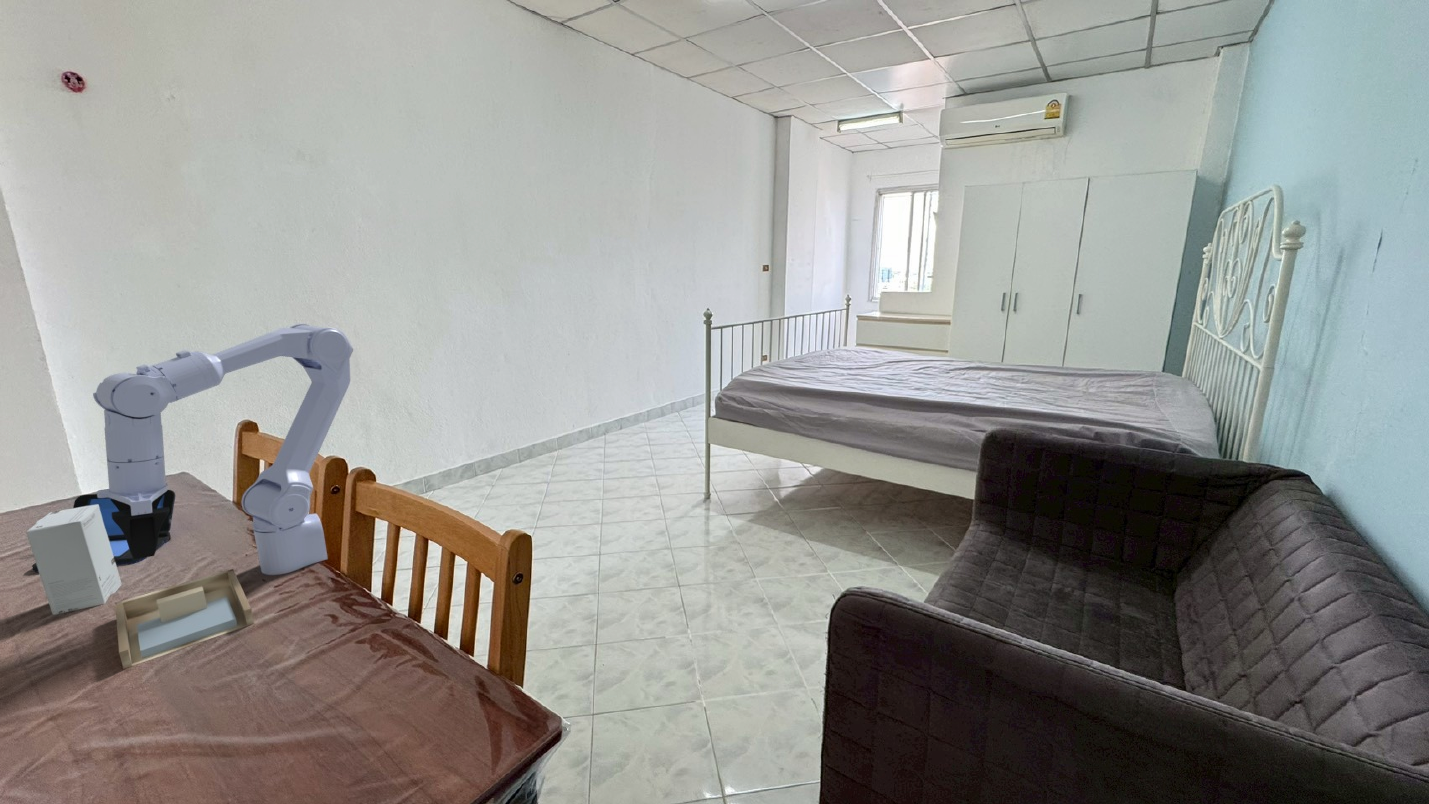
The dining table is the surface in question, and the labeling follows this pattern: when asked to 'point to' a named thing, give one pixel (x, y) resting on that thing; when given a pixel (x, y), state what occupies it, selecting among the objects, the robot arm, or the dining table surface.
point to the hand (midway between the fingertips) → (142, 548)
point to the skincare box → (74, 558)
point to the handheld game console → (114, 531)
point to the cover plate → (184, 621)
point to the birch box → (147, 610)
